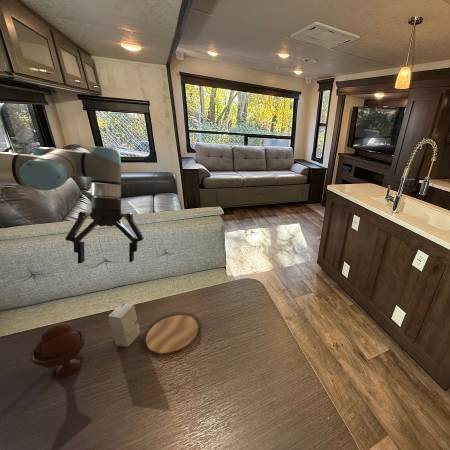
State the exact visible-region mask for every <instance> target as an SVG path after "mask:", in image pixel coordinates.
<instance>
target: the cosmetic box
mask: <svg viewBox="0 0 450 450" xmlns="http://www.w3.org/2000/svg"><path fill="white" fill-rule="evenodd" d="M107 319H108V322H109V325H110V329H111V332H112V337H113V340H114V343H115V345H116V346H118V347H125V348H128V347H130V346H131V344H132V343H133V342H134V341H135V340H136V339H137V338H138V337H139V336H140V334H141V329H140V325H139V320H138V317H137V311H136V307H135V305H134V304H130V303H121V304H120V305H119V306H118V307H116V308H115V309H114V310H113V311H112V312H111V313H110V314H109V315H108V316H107Z"/></svg>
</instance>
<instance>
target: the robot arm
mask: <svg viewBox="0 0 450 450" xmlns="http://www.w3.org/2000/svg"><path fill="white" fill-rule="evenodd" d="M72 177H79V178H80V177H81V178H90V186H91V187H90V189H91V191H90V192H91V193H90V195H91V196H92V197H91V200H90V201H91V211H90V212H89V211H85V210H82V211H79V212H78V213H77V219H76V221H75V222H74V224H73V226H72V227H71V228H70V230H69V232H68V233H67V235H66V237H65V241H67V242H71V243H73V253H74V254H77V264H83V263H85V241H82V240H84V238H85V237H86V236H87V235H88V234H90V233H91V232H92V231H93V230H94V229H95V228H96V227H98V226H100V227H114V226H115V227H116V228H117V229H118V230H119V231H120V232H121V233H122V234H123V235H124V236H126V237H127V239H128V240H129V241H130V242H128V244H129V245H128V247H129V248H128V252H129V253H128V255H129V257H128V258H129V259H128V261H129V263H133V262H134V261H135V253H136V252H137V251H138V242H142V241H143V240H144V239H145V236H144V235H143V234H142V232H141V230H140V228H139V227H138V225H137V223H136V222H135V219H134V214H133V213H132V212H128V213H123V212H122V199H121V197H122V159H121V153H120V151H119V150H117V149H114V148H111V147H110V148H109V147H104V146H91V147H90V150H89V152H88V151H77V150H70V149H62V148H57V147H43V146H39V147H36V148H35V149H34V151H33V153H32V154H21V153H13V152H1V151H0V185H17V186H28V187H29V188H32V189H33V190H37V191H45V192H46V191H53V190H56V189H58V188H60V187H61V186H63V185H64V184H66V183H67V181H68V180H69V179H71V178H72ZM89 217H90V218H91V219H92V222H90V223H89V224H88V226H87V227H85V228H84V229H83V230H82V231H81V232H80V233H79V234H78V232H79V231H80V229H81V227H82V226H83V224H84V223H85V221H86V219H88V218H89ZM122 219H124V220H126V221H127V223H128V225H129V226H130V228H131V230H132V232H133V233H134V234H133V233H132V232H131V230H129V229H128V228H127V227H126V225H124V223H123V222H122V221H121V220H122ZM77 234H78V235H77Z"/></svg>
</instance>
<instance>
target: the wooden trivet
mask: <svg viewBox="0 0 450 450" xmlns="http://www.w3.org/2000/svg"><path fill="white" fill-rule="evenodd" d="M198 333H199V324H198V321H197V320H196V319H195V318H193V317H192V316H189V315H186V314H185V315H183V314H179V315H172V316H168V317H166V318H163V319H161V320H159V321H158V322H157V323H155V324H154V325H153V326H152V327H151V328H150V329H149V330H148V333H147V334H146V337H145V343H146V347H147V349H148V350H149V351H150V352H151V353H153V354H155V355H170V354H171V355H172V354H174V353H178V352H180V351H182V350H184V349H185V348H187V347H189V345H191V344H192V343H193V341H195V339H196V338H197V336H198V335H199V334H198Z"/></svg>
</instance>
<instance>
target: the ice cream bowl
mask: <svg viewBox="0 0 450 450" xmlns="http://www.w3.org/2000/svg"><path fill="white" fill-rule="evenodd" d="M85 344H86V339H85V334H84V331H83V330H79V329H74V328H73V326H72V324H70V323H69V322H57V323H54V324H52V325H49V327H47V328H46V329H44V332H43V333H42V334H41V336H40V339H39V341H37V342H36V344H35V346H34V347H33V348H32V350H31V351H30V363H32V364H34V365H36V366H38V367H39V366H40V367H43V368H47V369H49V368H54V367H57V368H56V369H55V377H56V378H59V379H63V378H66V377H70V376H71V375H73V374H75V373H76V372H78V370H79V369H80V367H81V365H82V364H81V363H82V362H81V361H80V360H79V359H75V358H76V357H77V356H78V355H79V353H80V352H81V351H82V349H83V348H84V346H85Z"/></svg>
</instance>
